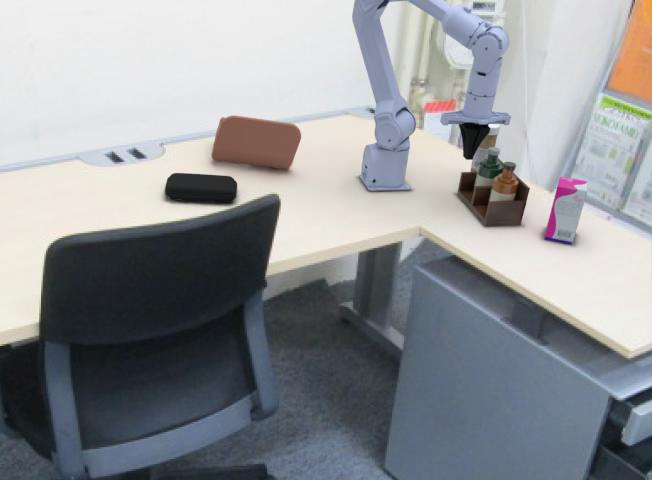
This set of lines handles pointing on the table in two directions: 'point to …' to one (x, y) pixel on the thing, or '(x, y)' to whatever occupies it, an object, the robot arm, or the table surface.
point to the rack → (497, 210)
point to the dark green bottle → (488, 168)
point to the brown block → (256, 142)
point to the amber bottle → (504, 184)
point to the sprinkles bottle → (485, 146)
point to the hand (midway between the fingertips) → (467, 157)
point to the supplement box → (566, 210)
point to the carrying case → (201, 187)
